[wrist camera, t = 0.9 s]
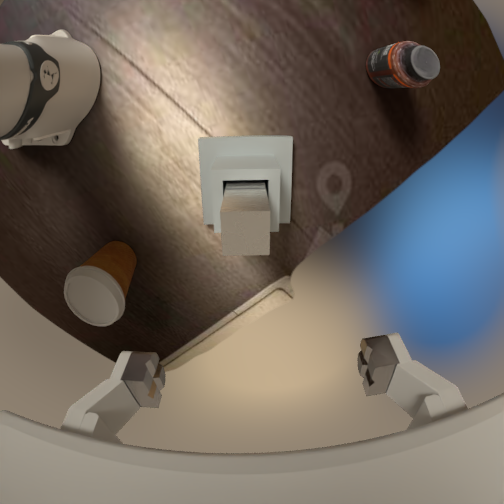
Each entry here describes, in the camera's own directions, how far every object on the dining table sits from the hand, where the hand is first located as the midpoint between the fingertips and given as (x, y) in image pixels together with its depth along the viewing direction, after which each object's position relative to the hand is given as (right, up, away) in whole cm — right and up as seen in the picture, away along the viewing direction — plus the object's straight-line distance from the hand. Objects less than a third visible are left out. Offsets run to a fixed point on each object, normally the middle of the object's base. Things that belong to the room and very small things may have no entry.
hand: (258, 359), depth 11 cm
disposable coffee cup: (-22, +3, +35) cm, 41 cm away
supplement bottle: (+18, +29, +21) cm, 40 cm away
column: (-1, +13, +28) cm, 31 cm away
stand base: (-1, +14, +29) cm, 32 cm away
